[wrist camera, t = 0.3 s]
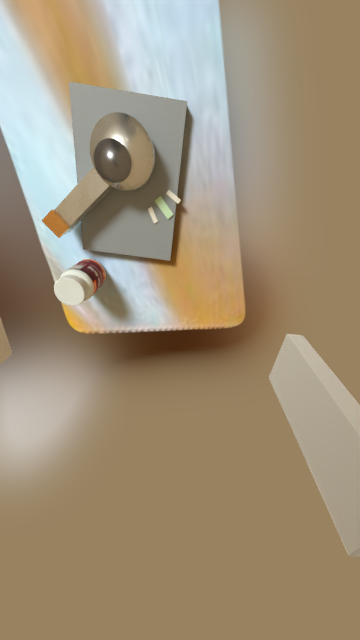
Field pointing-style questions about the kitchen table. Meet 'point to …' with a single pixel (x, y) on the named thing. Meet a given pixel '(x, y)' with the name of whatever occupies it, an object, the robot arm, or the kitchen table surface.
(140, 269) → the kitchen table surface
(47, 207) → the kitchen table surface
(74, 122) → the stand board
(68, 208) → the silver ladle
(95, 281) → the pill bottle
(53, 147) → the kitchen table surface
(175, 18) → the kitchen table surface
